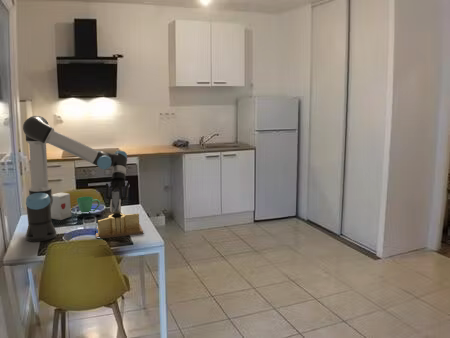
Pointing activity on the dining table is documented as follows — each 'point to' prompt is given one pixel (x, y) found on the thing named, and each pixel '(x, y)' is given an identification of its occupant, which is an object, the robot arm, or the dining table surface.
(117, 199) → the hinge pin
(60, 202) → the supplement box
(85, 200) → the mug
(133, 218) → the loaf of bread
